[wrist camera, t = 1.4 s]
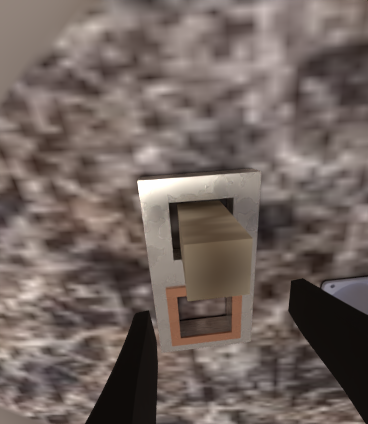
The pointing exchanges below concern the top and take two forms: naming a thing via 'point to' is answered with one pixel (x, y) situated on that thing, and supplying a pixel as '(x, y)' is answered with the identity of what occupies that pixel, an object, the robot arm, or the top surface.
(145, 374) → the robot arm
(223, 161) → the top surface
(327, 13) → the top surface
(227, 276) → the peg
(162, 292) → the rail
